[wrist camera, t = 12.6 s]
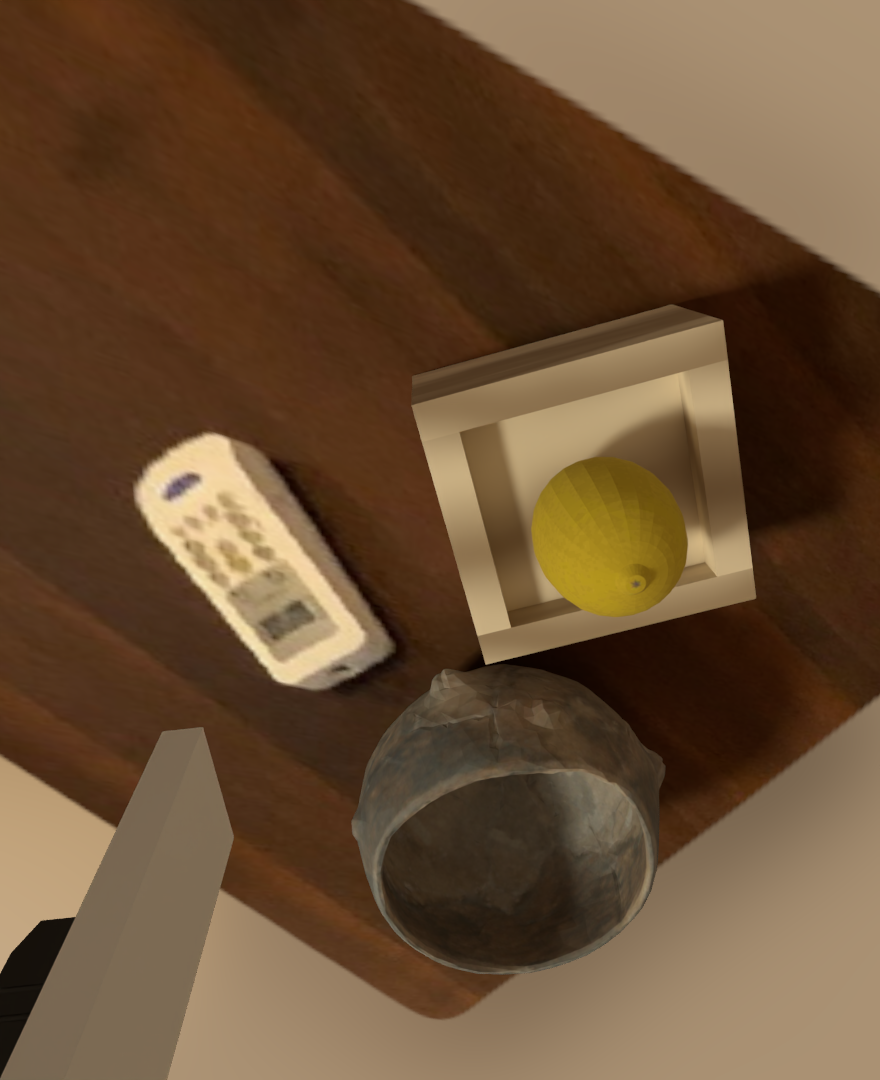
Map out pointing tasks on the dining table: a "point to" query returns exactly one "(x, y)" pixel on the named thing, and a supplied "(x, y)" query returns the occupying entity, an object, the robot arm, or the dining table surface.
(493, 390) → the birch box
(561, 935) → the bowl
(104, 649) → the dining table surface
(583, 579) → the lemon
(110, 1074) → the robot arm
